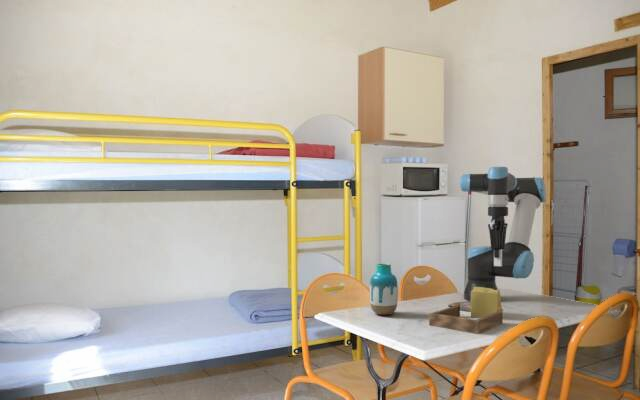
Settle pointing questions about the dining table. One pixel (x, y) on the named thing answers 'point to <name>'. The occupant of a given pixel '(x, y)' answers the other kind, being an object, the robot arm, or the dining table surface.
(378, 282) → the vase
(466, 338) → the dining table surface
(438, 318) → the bay
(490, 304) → the cheese
